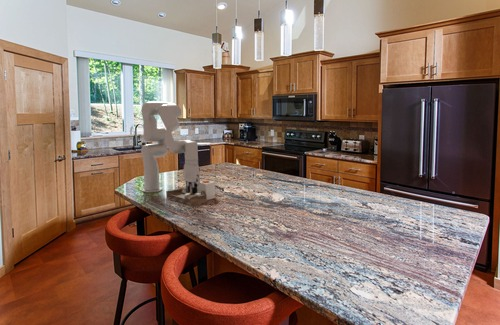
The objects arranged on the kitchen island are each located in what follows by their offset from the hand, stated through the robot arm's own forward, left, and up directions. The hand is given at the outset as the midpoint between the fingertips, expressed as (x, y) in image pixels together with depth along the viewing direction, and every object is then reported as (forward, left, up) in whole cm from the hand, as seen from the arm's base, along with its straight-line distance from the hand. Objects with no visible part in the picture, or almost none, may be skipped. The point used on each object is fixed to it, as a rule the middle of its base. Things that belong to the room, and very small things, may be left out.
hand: (192, 192), depth 193 cm
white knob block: (-1, +11, -6) cm, 12 cm away
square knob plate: (0, 0, -4) cm, 4 cm away
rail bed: (-6, 0, -6) cm, 8 cm away
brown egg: (-1, +11, +1) cm, 11 cm away
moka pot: (-20, +16, -6) cm, 26 cm away
